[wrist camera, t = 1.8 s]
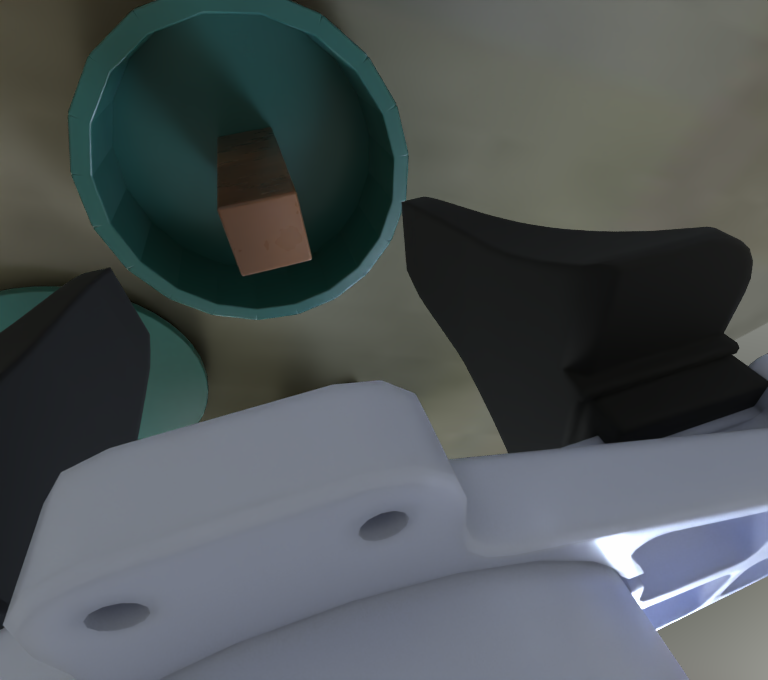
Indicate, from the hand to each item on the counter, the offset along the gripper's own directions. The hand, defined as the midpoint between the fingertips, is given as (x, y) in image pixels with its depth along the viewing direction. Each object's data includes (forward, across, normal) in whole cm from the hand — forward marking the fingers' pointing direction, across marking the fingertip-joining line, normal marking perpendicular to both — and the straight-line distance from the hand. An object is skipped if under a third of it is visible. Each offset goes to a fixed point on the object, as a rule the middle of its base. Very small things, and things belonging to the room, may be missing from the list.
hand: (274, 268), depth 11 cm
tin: (+10, 0, 0) cm, 10 cm away
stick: (+10, 0, 0) cm, 10 cm away
